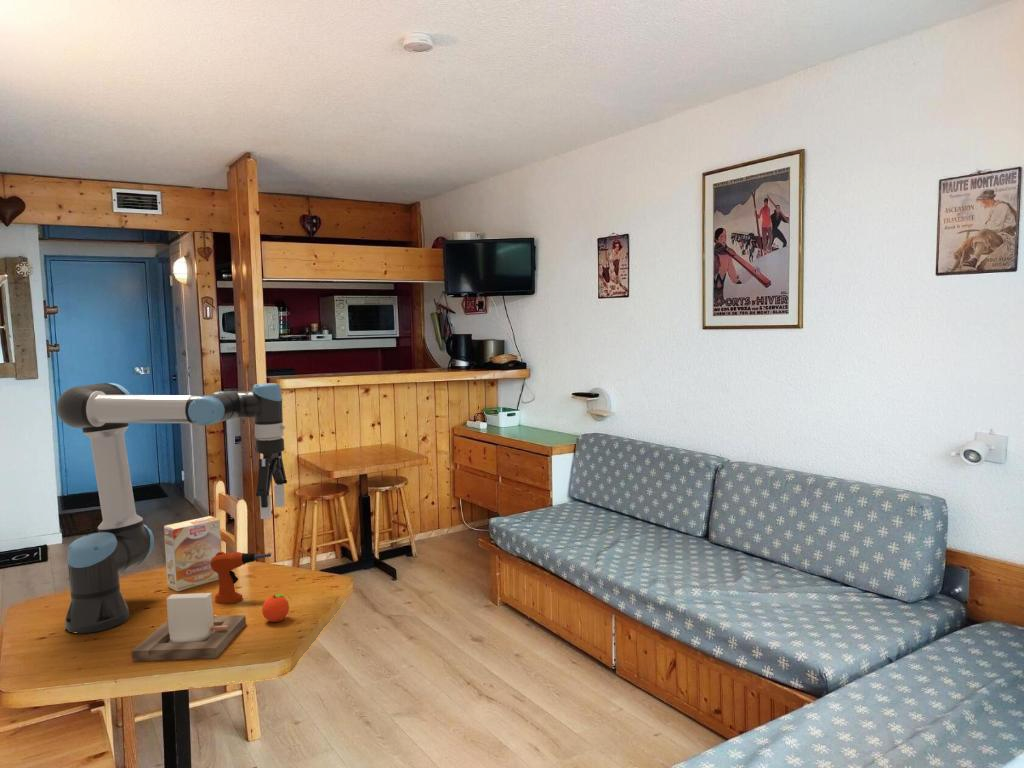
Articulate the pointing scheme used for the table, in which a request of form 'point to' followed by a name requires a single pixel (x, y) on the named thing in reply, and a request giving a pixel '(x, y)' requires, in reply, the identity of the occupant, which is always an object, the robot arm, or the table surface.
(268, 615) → the clementine
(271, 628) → the table surface
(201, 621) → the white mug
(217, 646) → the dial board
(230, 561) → the toy drill
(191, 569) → the coffeecake box
